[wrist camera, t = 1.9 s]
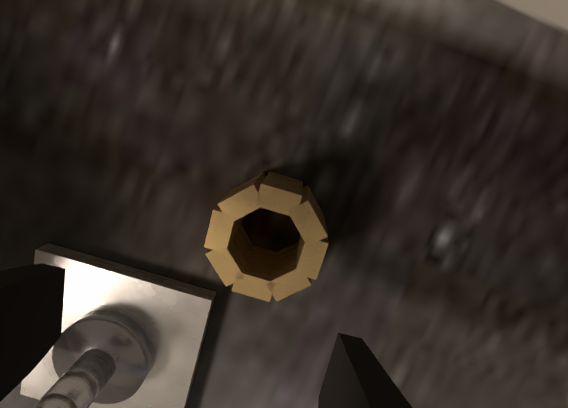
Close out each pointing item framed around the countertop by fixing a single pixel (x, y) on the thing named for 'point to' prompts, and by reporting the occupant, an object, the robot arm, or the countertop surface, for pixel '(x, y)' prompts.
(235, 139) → the countertop surface
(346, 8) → the countertop surface
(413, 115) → the countertop surface
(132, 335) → the piston stand
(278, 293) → the brass ring
